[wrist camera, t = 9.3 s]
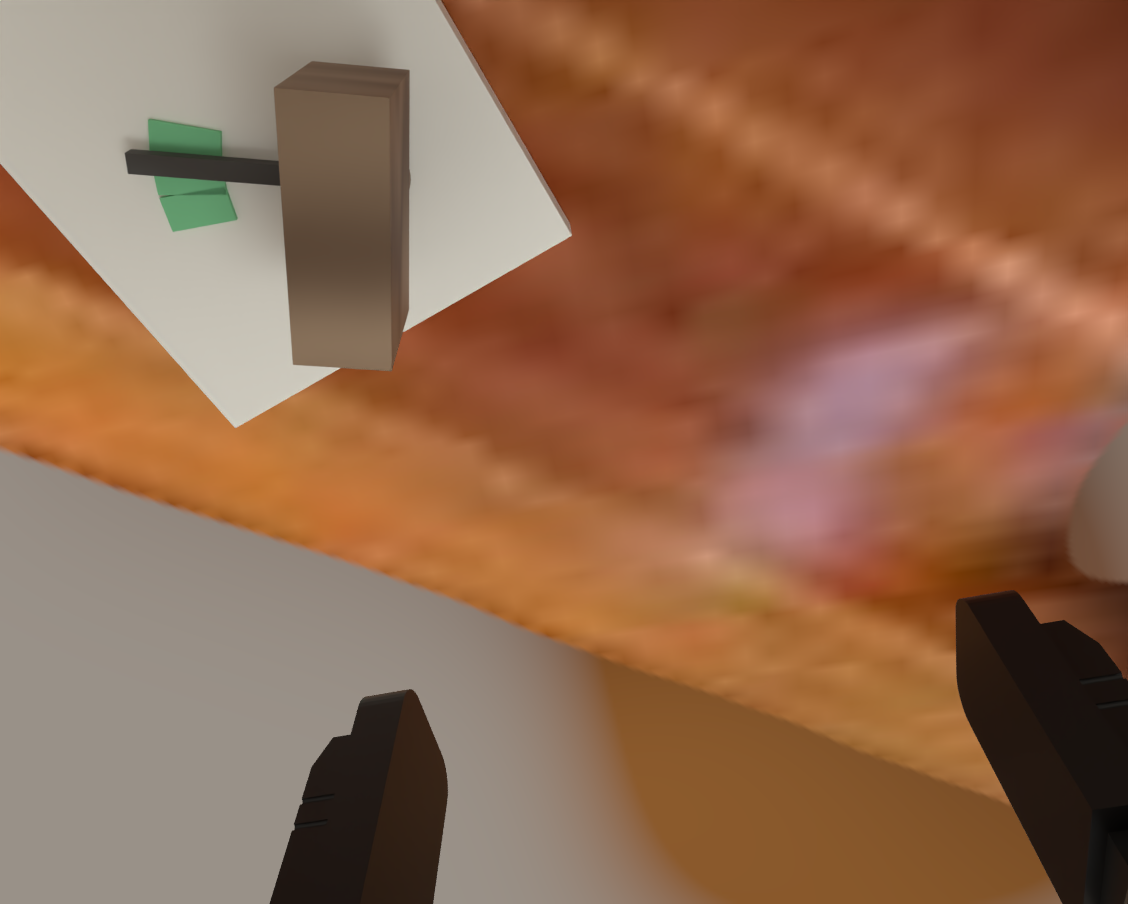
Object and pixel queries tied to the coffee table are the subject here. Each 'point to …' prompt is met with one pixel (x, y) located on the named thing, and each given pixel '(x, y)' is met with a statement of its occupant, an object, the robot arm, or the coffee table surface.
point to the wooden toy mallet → (332, 207)
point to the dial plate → (248, 130)
